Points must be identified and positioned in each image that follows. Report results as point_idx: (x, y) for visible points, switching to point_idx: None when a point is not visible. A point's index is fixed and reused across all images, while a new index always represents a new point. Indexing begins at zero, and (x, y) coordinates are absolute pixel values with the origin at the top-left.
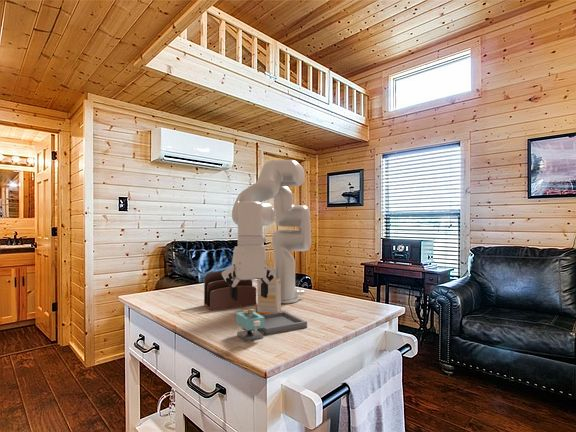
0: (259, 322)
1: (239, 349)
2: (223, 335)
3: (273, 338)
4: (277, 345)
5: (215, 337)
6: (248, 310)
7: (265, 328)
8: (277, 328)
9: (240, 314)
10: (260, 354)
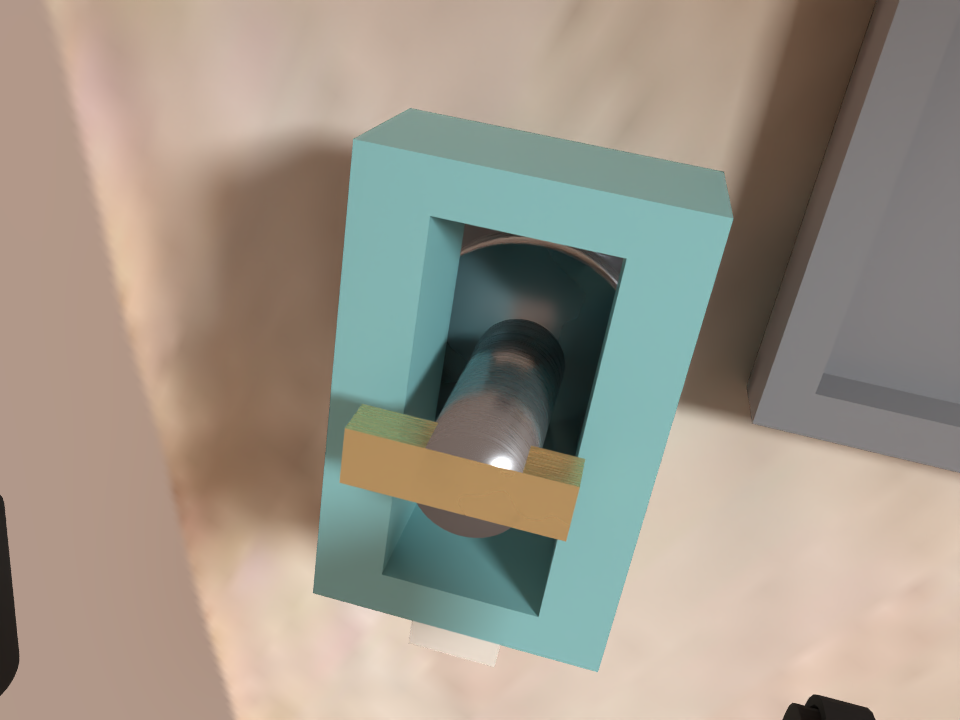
0: (482, 652)
1: (270, 504)
2: (291, 19)
3: (722, 524)
4: (610, 667)
5: (177, 22)
6: (418, 503)
7: (758, 403)
8: (935, 456)
9: (370, 294)
10: (367, 687)
